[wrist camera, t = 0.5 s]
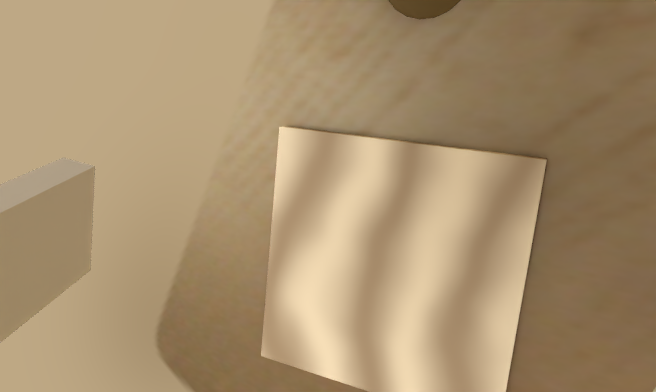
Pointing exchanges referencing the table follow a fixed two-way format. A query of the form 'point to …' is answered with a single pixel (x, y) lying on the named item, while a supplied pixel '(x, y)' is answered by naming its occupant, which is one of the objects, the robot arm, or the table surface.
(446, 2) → the olive pawn
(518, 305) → the birch board
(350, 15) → the table surface
